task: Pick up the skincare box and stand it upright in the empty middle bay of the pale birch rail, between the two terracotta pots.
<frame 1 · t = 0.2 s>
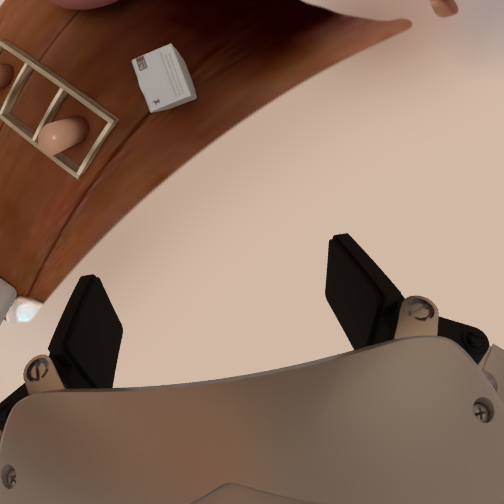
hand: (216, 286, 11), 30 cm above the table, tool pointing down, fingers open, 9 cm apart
rail: (36, 100, 27), on the table
skincare box: (174, 84, 31), on the table
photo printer: (0, 282, 40), on the table
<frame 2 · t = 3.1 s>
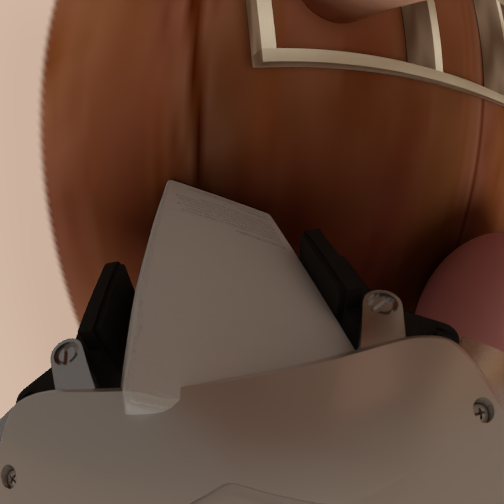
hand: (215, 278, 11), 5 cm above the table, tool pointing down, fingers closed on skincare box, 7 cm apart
rail: (450, 28, 10), on the table
skincare box: (211, 225, 16), on the table, touching gripper
balloon: (458, 270, 22), on the table
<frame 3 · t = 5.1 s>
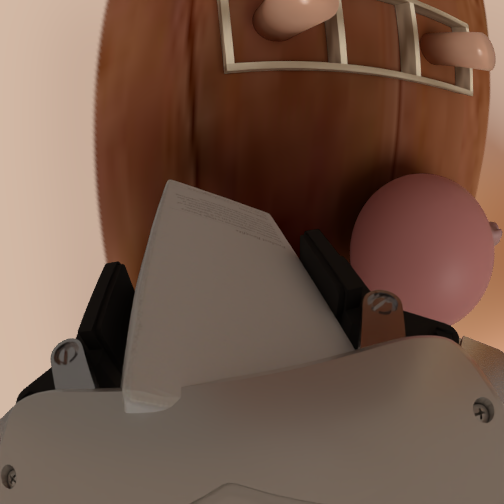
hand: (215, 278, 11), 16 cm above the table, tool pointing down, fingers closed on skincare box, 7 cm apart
rail: (367, 31, 19), on the table
skincare box: (211, 224, 16), point 10 cm above the table, touching gripper
balloon: (397, 215, 31), on the table
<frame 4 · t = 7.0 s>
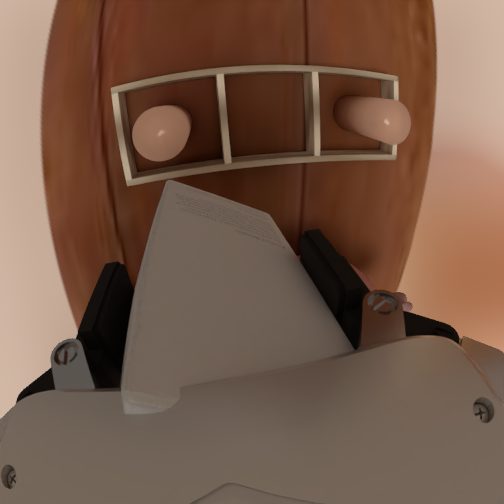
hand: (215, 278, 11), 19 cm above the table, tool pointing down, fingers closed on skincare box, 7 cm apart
rail: (266, 113, 25), on the table
skincare box: (210, 225, 16), point 14 cm above the table, touching gripper
balloon: (310, 278, 37), on the table
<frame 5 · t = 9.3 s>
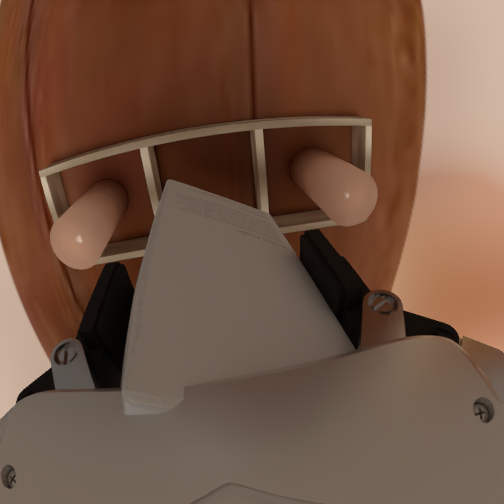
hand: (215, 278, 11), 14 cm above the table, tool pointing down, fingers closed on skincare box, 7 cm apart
rail: (207, 181, 23), on the table
skincare box: (210, 224, 16), point 9 cm above the table, touching gripper
when the fingers open (6 cm above the table, at t = 11.3 s): skincare box stays where it is, resting in rail.
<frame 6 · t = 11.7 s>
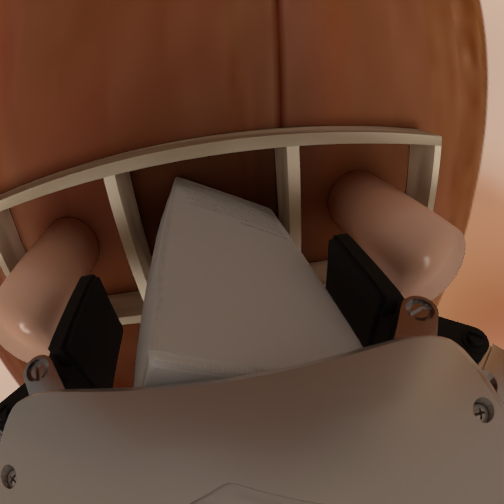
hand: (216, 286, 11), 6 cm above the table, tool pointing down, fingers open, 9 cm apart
rail: (210, 219, 16), on the table
skincare box: (216, 219, 17), resting in rail
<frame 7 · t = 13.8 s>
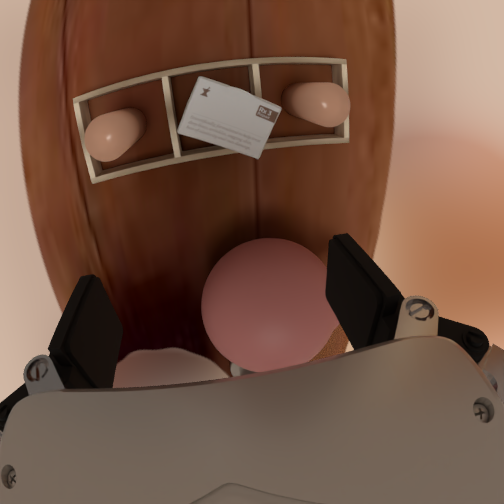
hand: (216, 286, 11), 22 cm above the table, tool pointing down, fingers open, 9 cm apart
rail: (213, 107, 26), on the table
skincare box: (217, 108, 27), resting in rail
balloon: (273, 263, 39), on the table
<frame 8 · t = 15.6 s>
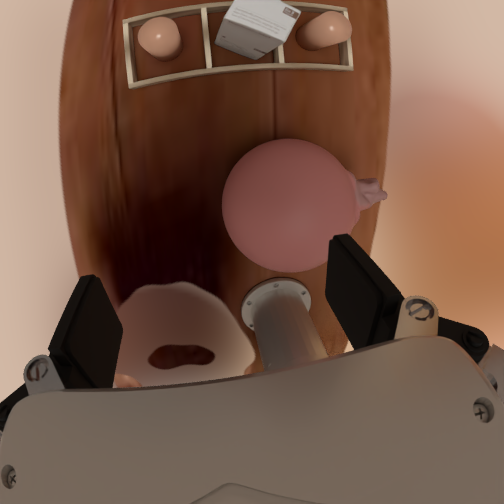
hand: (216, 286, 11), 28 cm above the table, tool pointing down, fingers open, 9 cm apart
rail: (240, 37, 28), on the table
skincare box: (242, 39, 28), resting in rail
balloon: (289, 183, 39), on the table
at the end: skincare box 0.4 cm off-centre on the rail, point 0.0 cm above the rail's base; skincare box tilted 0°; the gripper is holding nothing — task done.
